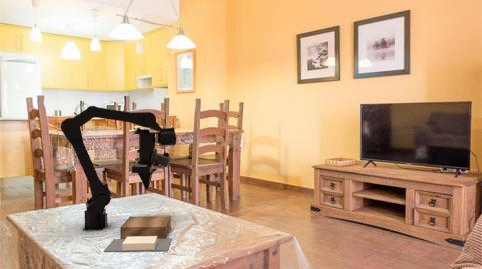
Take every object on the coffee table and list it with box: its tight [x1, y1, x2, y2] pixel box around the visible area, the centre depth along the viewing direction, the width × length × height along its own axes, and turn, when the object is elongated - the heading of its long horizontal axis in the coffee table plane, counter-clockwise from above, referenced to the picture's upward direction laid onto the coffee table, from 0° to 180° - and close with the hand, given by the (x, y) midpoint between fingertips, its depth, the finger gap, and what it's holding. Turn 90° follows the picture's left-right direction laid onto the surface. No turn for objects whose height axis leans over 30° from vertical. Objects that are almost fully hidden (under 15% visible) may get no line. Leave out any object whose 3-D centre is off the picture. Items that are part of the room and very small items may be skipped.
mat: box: [103, 237, 173, 253], centre depth 108 cm, size 18×10×1 cm, turn 93°
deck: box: [119, 215, 172, 239], centre depth 119 cm, size 14×12×4 cm
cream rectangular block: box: [122, 236, 157, 251], centre depth 107 cm, size 9×6×2 cm, turn 95°
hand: (147, 188), depth 132 cm, fingers closed
